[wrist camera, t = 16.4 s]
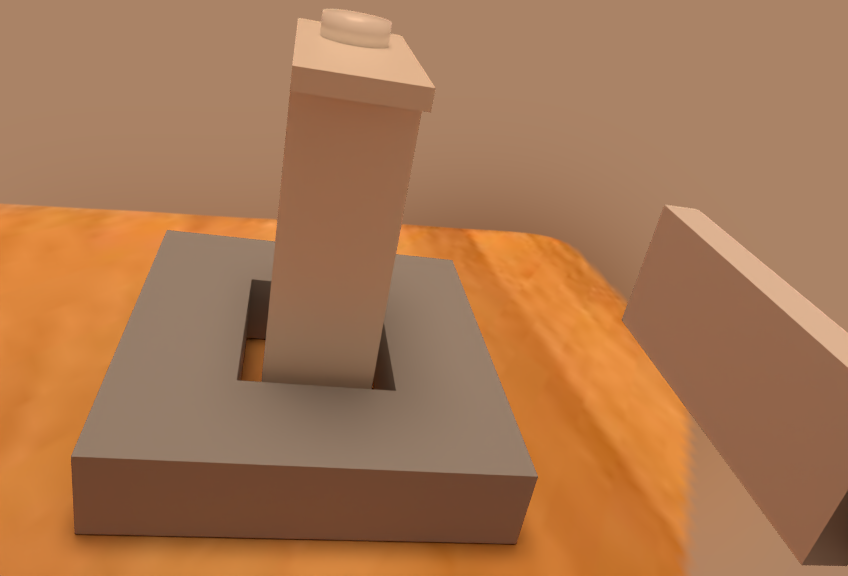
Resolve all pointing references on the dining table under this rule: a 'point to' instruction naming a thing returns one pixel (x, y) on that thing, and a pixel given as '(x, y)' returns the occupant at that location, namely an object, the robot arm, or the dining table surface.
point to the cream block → (341, 197)
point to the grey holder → (297, 418)
